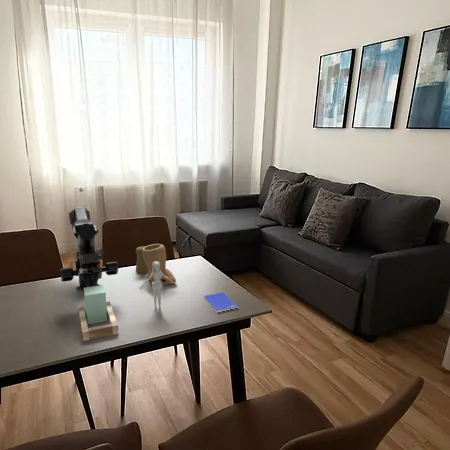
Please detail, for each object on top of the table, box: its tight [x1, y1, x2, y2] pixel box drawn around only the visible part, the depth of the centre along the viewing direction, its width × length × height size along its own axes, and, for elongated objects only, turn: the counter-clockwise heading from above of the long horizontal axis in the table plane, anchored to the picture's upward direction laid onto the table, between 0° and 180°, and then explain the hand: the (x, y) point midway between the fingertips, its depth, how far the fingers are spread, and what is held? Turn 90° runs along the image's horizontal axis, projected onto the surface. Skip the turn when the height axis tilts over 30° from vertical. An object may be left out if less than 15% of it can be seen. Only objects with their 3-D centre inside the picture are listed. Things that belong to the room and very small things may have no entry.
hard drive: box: [203, 292, 239, 314], centre depth 134 cm, size 2×8×12 cm
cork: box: [135, 246, 149, 274], centre depth 161 cm, size 6×6×11 cm
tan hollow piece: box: [142, 243, 177, 286], centre depth 152 cm, size 15×12×15 cm
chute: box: [78, 300, 120, 342], centre depth 117 cm, size 17×10×4 cm, turn 25°
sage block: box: [83, 284, 108, 325], centre depth 119 cm, size 6×6×10 cm
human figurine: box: [139, 261, 173, 313], centre depth 126 cm, size 12×4×18 cm, turn 122°
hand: (93, 294), depth 124 cm, fingers closed
